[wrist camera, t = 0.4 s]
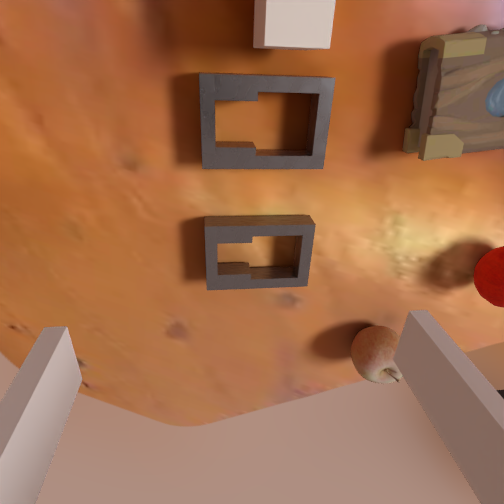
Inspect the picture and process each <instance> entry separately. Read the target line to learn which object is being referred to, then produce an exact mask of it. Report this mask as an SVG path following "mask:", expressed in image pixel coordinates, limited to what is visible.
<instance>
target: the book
mask: <svg viewBox="0 0 504 504" xmlns="http://www.w3.org/2000/svg"><path fill="white" fill-rule="evenodd" d="M418 57H419V61H418V69H419V70H420V73H419V75H418V77H417V90H416V92H415V94H414V98H413V101H414V110H413V111H412V113H411V119H412V122H413V124H412V125H411V126H410V127H409V128H405V134H404V142H403V150H402V151H403V152H405V153H413V152H419V155H418V159H421V160H423V161H425V160H432V159H439V158H454V157H461V154H462V153H470V152H477V151H486V150H495V149H504V28H502V29H501V30H493V31H487V27H486V25H478V26H476V27H474V28H472V29H470V30H469V31H467V32H465V33H457V34H447V35H438V36H431V37H429V38H427V39H426V40H425V41H423V42H422V43H421V47H420V51H419V56H418Z"/></svg>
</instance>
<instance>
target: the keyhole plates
mask: <svg viewBox="0 0 504 504" xmlns="http://www.w3.org/2000/svg"><path fill="white" fill-rule="evenodd" d="M334 85H335V78H332V77H322V76H292V75H262V74H233V73H203V72H199V87H200V114H201V142H202V169H323V166H324V159H325V151H326V144H327V136H328V129H329V122H330V114H331V107H332V100H333V92H334ZM258 92H285V93H312V97H311V106H310V115H309V124H308V134H307V143H306V150H256V147H255V145H254V143H253V142H215V100H231V101H258ZM314 232H315V223H314V221H313V220H312V218H311V217H310V215H296V216H231V217H205V252H206V280H207V290H227V289H252V288H277V287H302V286H307V284H308V276H309V269H310V262H311V254H312V247H313V240H314ZM294 235H296V245H295V254H294V263H293V267H263V268H250V267H249V263H221V264H217V244H219V243H252V236H294Z"/></svg>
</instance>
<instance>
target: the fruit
mask: <svg viewBox="0 0 504 504" xmlns="http://www.w3.org/2000/svg"><path fill="white" fill-rule="evenodd" d="M399 340H400V336H399V335H398V334H397V333H396V332H395V331H393V330H392V329H390V328H387V327H384V326H372V327H368V328H365V329H363V330H361V331H360V332H359V333H358V334H357V335H356V336H355V338H354V340H353V343H352V347H351V357H352V361H353V364H354V366H355V368H356V370H357V371H358V373H359V374H360V375H361V376H362V377H364V378H365V379H367V380H369V381H371V382H375V383H381V384H386V383H392V382H395V381H397V382H400V380H399V379H400V378H402V377H403V375H402V374H401V372H400V370H399V369H398V367H397V366H396V364H395V362H394V361H393V357H394V354H395V351H396V348H397V346H398V343H399Z"/></svg>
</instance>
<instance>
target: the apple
mask: <svg viewBox="0 0 504 504" xmlns="http://www.w3.org/2000/svg"><path fill="white" fill-rule="evenodd" d="M474 284H475V286H476V288H477V290H478V292H479V294H480V295H481V296H482V297H483V298H484V299H486V300H487V301H489V302H490V303H492V304H493V305H495V306H498V307H504V246H503V247H499V248H496V249H493V250H491V251H490V252H488V253H486V254H485V255H484V256H483V257H482V258H481V259H480V260H479V261H478V263H477V265H476V267H475V270H474Z"/></svg>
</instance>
